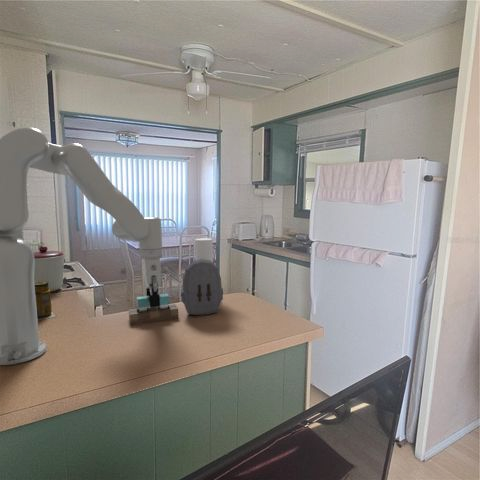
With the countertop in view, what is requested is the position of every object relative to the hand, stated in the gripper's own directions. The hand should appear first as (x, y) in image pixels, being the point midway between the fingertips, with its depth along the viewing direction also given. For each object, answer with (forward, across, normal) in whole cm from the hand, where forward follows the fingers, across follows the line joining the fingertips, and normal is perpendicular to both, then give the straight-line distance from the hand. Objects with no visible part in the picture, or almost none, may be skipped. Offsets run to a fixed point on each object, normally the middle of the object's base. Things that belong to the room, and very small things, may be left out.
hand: (153, 302), depth 117 cm
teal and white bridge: (+6, 0, 0) cm, 6 cm away
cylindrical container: (+6, +17, -23) cm, 29 cm away
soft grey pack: (+6, -2, -17) cm, 18 cm away
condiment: (+6, +19, +37) cm, 42 cm away
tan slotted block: (+6, 0, 0) cm, 6 cm away
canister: (+6, +61, +42) cm, 74 cm away
